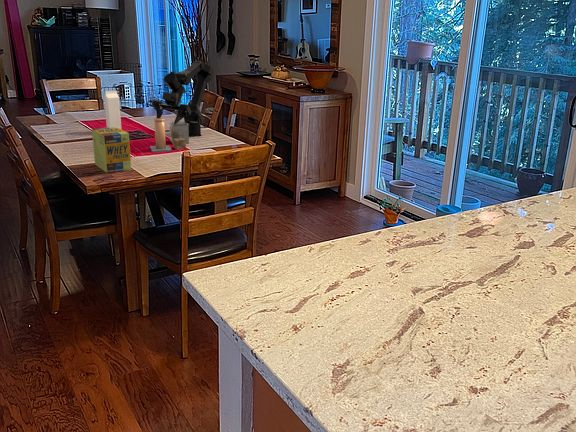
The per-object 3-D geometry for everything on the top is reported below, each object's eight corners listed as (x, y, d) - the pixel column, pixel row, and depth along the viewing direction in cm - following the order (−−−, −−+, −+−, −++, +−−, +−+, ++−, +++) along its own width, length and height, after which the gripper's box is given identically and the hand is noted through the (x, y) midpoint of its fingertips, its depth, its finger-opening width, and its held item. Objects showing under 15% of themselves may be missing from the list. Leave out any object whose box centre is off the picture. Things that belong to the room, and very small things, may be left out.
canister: (163, 146, 267) (162, 117, 262) (167, 148, 263) (166, 119, 259) (154, 147, 264) (152, 118, 260) (158, 149, 261) (156, 120, 256)
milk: (121, 133, 294) (118, 91, 287) (110, 134, 291) (106, 91, 283) (118, 131, 299) (115, 89, 291) (106, 132, 296) (103, 90, 288)
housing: (186, 139, 285) (185, 121, 281) (188, 143, 278) (188, 124, 274) (169, 140, 282) (168, 121, 279) (171, 144, 275) (171, 124, 272)
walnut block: (182, 146, 271) (181, 137, 269) (186, 148, 267) (185, 139, 266) (173, 147, 268) (172, 138, 267) (177, 149, 265) (176, 140, 263)
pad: (169, 146, 270) (169, 145, 269) (171, 151, 262) (171, 149, 261) (150, 147, 267) (150, 146, 266) (152, 152, 259) (152, 150, 258)
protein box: (107, 173, 225) (103, 135, 220) (94, 164, 237) (91, 128, 231) (132, 170, 231) (129, 133, 226) (118, 161, 243) (115, 126, 237)
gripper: (152, 83, 267) (141, 110, 261) (188, 87, 262) (178, 116, 257) (161, 96, 277) (150, 123, 272) (195, 101, 273) (185, 128, 267)
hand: (165, 122), depth 267 cm, fingers open, 9 cm apart
